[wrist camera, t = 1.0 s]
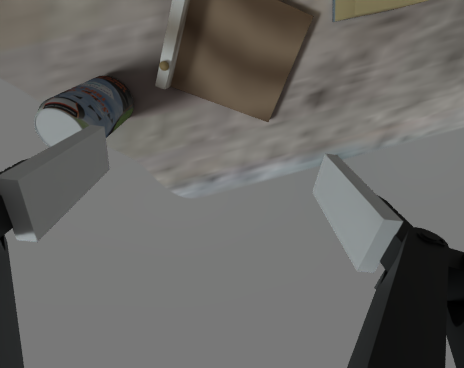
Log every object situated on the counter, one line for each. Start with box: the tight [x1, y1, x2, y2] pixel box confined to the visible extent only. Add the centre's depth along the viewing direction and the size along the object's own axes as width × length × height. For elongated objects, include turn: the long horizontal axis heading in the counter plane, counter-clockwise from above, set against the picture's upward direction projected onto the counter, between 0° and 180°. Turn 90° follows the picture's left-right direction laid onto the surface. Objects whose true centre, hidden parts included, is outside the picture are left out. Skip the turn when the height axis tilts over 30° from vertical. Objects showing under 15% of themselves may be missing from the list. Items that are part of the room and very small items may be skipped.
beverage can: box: [34, 76, 134, 147], centre depth 29 cm, size 6×7×12 cm
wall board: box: [155, 0, 314, 122], centre depth 29 cm, size 13×15×5 cm
